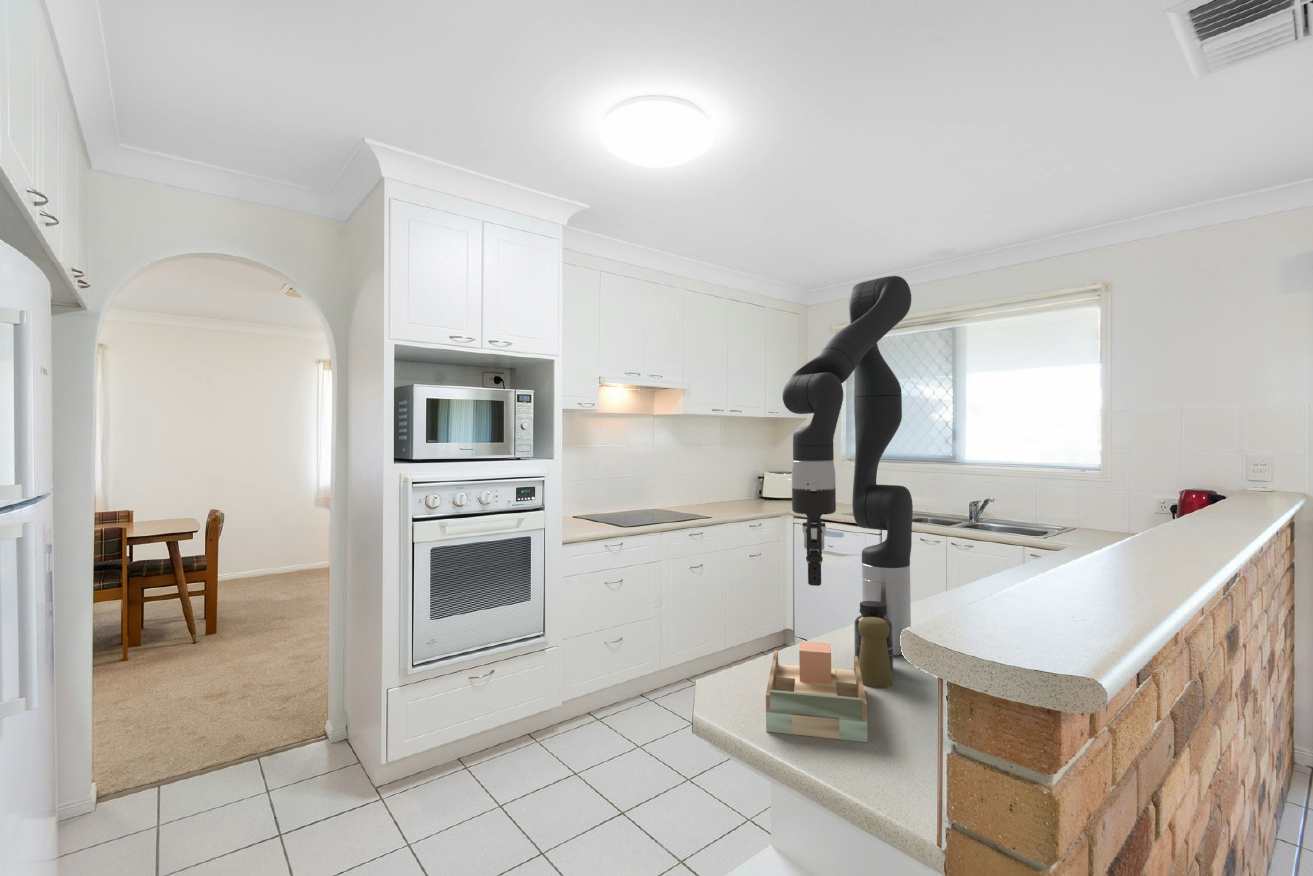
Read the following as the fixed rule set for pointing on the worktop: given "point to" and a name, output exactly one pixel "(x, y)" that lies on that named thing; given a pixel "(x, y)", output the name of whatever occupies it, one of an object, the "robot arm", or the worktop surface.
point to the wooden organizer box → (816, 703)
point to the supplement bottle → (880, 612)
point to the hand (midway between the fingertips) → (814, 580)
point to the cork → (874, 653)
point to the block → (815, 662)
